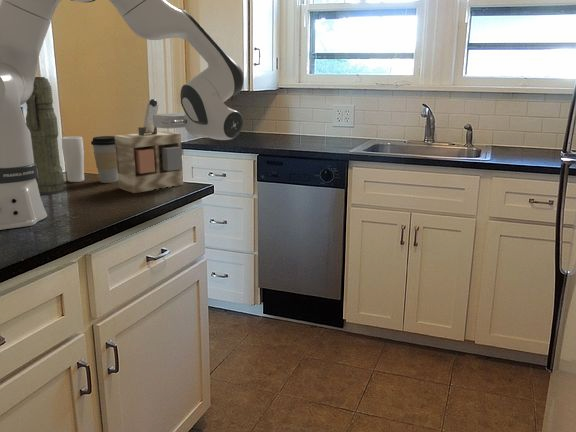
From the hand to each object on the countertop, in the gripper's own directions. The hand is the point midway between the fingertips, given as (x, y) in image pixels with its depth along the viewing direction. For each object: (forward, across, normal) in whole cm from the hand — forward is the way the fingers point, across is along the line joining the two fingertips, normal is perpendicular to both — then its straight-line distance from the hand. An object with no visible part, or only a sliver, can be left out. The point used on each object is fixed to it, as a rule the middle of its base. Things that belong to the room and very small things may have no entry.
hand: (173, 117), depth 168 cm
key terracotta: (+13, -5, -17) cm, 22 cm away
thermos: (+31, -28, -24) cm, 48 cm away
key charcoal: (+11, +4, -17) cm, 21 cm away
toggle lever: (+15, 0, -6) cm, 16 cm away
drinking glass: (+41, -15, -24) cm, 50 cm away
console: (+15, 0, -23) cm, 28 cm away
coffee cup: (+33, -6, -24) cm, 41 cm away
